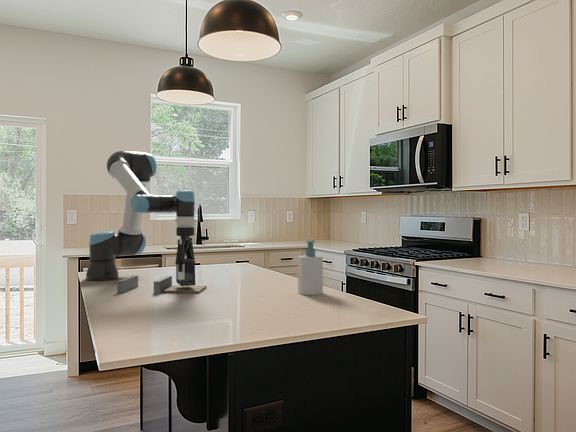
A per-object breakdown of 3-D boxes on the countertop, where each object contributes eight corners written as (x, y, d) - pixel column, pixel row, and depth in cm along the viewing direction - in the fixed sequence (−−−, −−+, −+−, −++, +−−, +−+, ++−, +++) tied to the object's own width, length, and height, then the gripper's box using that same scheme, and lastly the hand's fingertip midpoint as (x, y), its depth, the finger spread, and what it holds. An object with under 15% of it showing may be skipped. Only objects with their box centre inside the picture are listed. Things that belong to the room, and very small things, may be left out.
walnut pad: (173, 287, 205) (173, 285, 205) (206, 288, 204) (206, 285, 204) (163, 293, 192) (163, 290, 192) (198, 293, 191) (198, 291, 191)
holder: (132, 286, 208) (132, 275, 208) (171, 286, 207) (171, 275, 207) (117, 293, 192) (117, 281, 192) (159, 293, 191) (159, 281, 191)
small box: (175, 282, 202) (175, 258, 202) (190, 281, 205) (190, 257, 204) (180, 286, 192) (180, 261, 192) (195, 285, 195) (195, 260, 195)
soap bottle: (295, 294, 190) (296, 241, 189) (300, 290, 199) (300, 239, 198) (320, 295, 187) (320, 241, 187) (324, 291, 196) (324, 239, 196)
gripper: (184, 225, 210) (184, 272, 211) (167, 227, 186) (167, 281, 187) (201, 225, 210) (201, 273, 210) (185, 228, 186) (185, 281, 186)
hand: (185, 277), depth 198 cm, fingers closed on small box, 12 cm apart
